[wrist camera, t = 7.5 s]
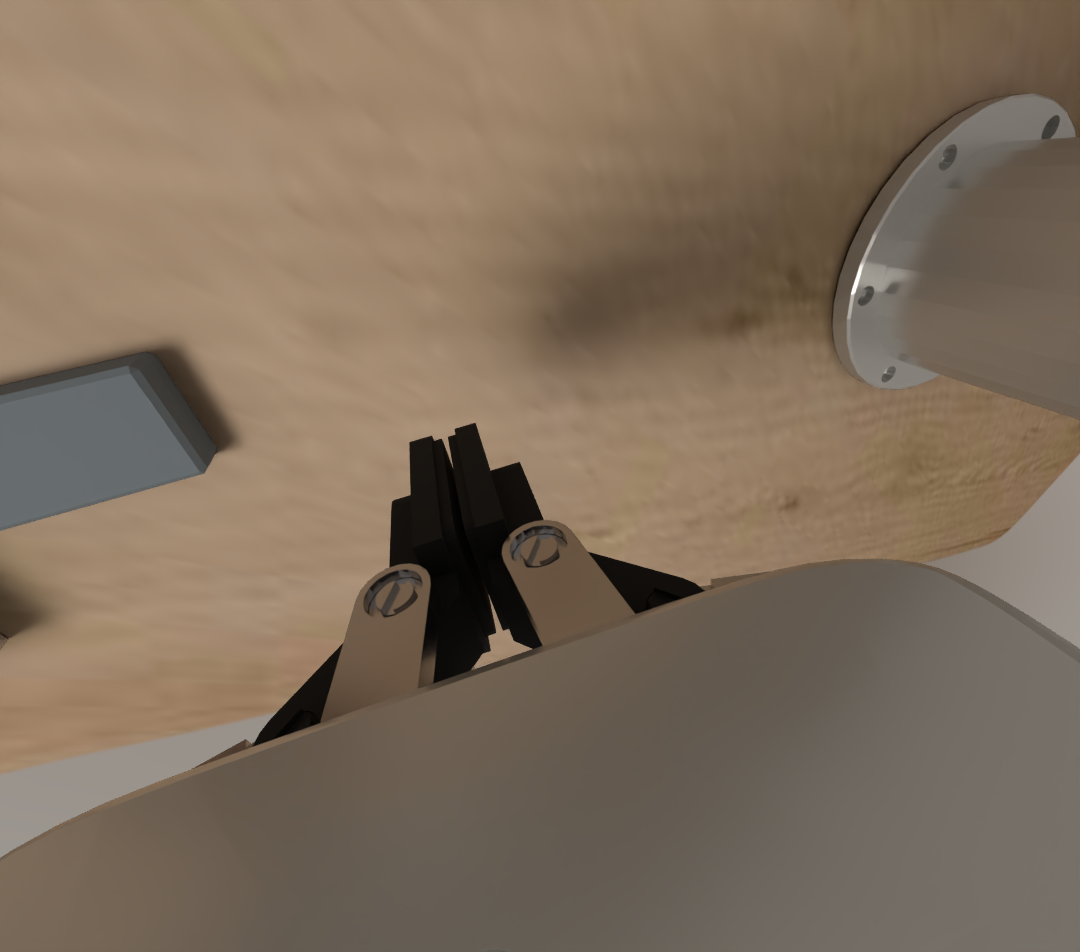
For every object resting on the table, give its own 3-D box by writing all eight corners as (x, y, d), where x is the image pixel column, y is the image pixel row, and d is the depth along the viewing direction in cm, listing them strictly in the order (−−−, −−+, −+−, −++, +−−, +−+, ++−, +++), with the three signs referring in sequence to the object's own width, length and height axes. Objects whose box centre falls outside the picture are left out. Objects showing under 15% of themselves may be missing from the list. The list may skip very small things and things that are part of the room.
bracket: (223, 448, 17) (209, 475, 15) (-110, 539, 15) (-165, 581, 14) (157, 345, 15) (132, 364, 13) (-243, 437, 13) (-329, 473, 11)
